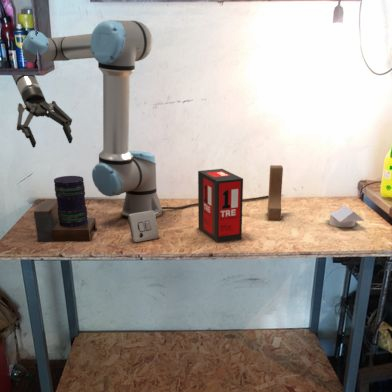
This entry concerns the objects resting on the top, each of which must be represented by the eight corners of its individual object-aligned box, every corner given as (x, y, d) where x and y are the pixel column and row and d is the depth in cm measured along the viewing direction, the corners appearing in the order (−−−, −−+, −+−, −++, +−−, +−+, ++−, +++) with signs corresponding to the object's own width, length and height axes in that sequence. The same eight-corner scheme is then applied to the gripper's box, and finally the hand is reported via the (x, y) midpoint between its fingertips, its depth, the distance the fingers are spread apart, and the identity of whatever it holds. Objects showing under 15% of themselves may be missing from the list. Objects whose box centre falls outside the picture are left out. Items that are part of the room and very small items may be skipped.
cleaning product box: (241, 239, 192) (243, 178, 183) (217, 242, 190) (217, 181, 180) (221, 225, 206) (222, 168, 196) (198, 228, 203) (198, 171, 193)
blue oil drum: (72, 217, 203) (67, 174, 195) (94, 221, 198) (89, 177, 191) (53, 224, 195) (47, 180, 188) (75, 229, 191) (69, 183, 183)
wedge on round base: (363, 229, 200) (349, 219, 211) (366, 210, 197) (351, 201, 208) (338, 231, 199) (325, 220, 210) (341, 212, 196) (327, 202, 207)
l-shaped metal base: (96, 228, 205) (93, 199, 200) (89, 241, 192) (86, 211, 187) (47, 228, 205) (43, 200, 200) (37, 241, 193) (33, 211, 188)
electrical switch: (134, 243, 190) (131, 215, 186) (128, 240, 194) (125, 213, 190) (159, 238, 194) (157, 211, 190) (152, 236, 198) (150, 209, 194)
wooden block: (280, 220, 211) (283, 170, 202) (268, 220, 211) (271, 170, 202) (279, 213, 219) (282, 165, 210) (267, 213, 219) (270, 165, 210)
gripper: (61, 98, 214) (83, 145, 211) (-5, 103, 202) (17, 153, 199) (65, 83, 208) (87, 132, 204) (-3, 87, 196) (19, 139, 192)
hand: (53, 142), depth 202 cm, fingers open, 13 cm apart
